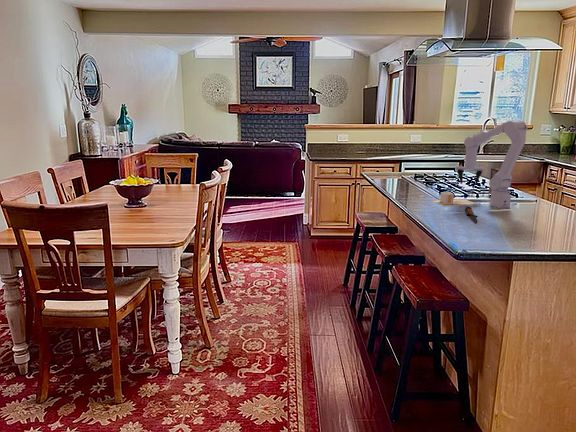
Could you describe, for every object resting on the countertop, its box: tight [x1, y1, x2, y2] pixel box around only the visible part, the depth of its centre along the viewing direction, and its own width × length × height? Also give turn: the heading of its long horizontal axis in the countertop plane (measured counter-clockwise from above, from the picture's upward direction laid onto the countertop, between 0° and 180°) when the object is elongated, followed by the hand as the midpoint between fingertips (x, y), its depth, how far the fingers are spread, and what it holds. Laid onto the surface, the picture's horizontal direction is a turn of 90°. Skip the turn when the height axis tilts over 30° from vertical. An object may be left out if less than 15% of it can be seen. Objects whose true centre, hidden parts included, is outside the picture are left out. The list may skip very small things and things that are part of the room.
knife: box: [464, 206, 478, 225], centre depth 209 cm, size 25×3×5 cm
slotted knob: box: [439, 191, 455, 204], centre depth 239 cm, size 6×4×5 cm
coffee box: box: [488, 167, 501, 194], centre depth 259 cm, size 9×6×16 cm
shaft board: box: [429, 198, 478, 207], centre depth 240 cm, size 16×20×4 cm
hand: (468, 184), depth 246 cm, fingers open, 7 cm apart
